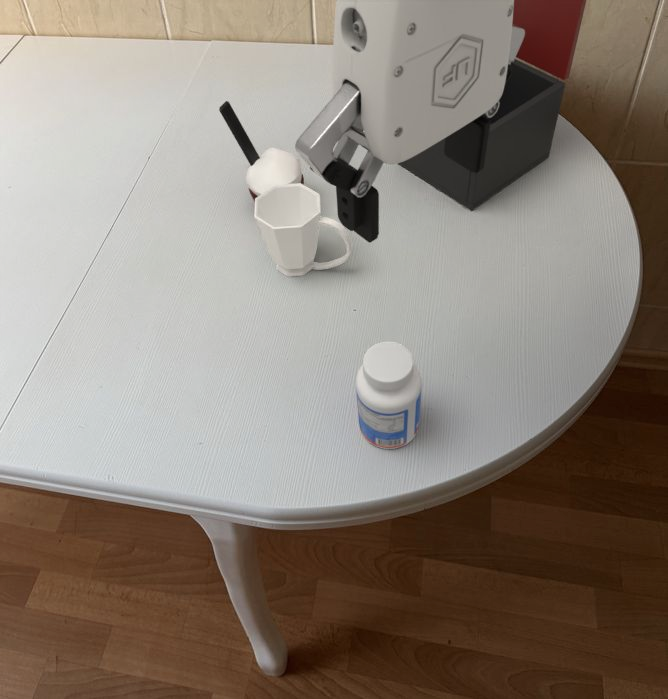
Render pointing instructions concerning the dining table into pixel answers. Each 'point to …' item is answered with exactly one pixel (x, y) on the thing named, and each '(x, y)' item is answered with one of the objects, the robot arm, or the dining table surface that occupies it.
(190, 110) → the dining table surface
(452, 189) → the dark open-top bin
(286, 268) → the cup
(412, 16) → the robot arm
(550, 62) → the bin lid
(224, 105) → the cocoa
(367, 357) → the pill bottle
